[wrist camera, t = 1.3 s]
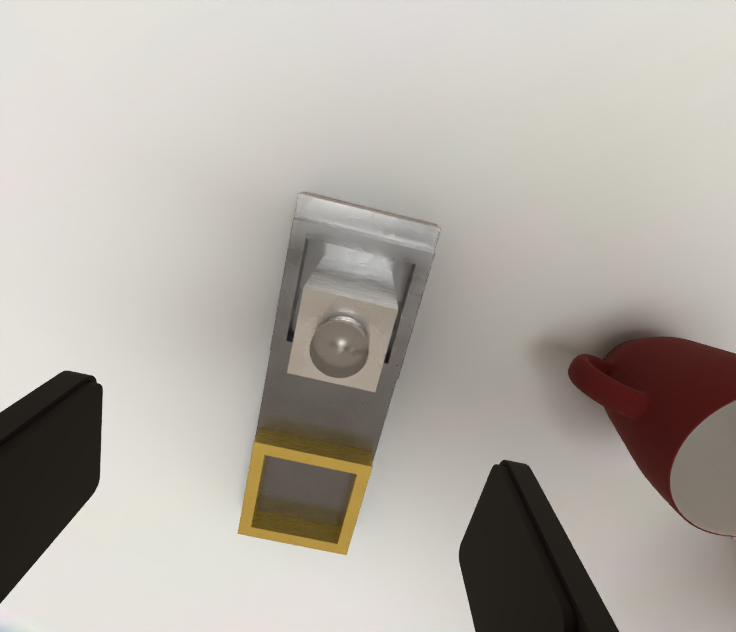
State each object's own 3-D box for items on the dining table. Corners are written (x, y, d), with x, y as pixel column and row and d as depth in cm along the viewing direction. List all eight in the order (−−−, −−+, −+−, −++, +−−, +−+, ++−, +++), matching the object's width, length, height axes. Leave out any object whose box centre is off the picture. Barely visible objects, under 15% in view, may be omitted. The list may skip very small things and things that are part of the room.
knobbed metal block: (392, 271, 24) (399, 317, 16) (375, 335, 25) (375, 404, 18) (323, 255, 24) (299, 294, 16) (310, 320, 25) (282, 383, 17)
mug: (518, 402, 29) (587, 514, 19) (556, 291, 26) (658, 358, 17) (663, 428, 29) (800, 550, 20) (715, 322, 27) (902, 403, 17)
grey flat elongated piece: (435, 224, 25) (444, 232, 22) (348, 528, 33) (345, 568, 29) (304, 191, 25) (293, 194, 21) (247, 507, 32) (232, 546, 29)
